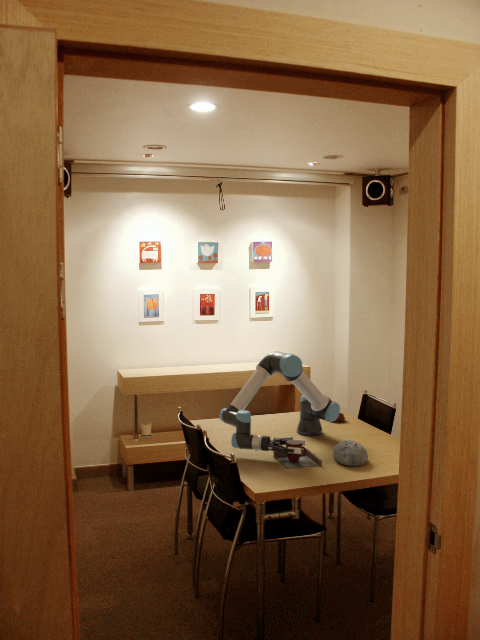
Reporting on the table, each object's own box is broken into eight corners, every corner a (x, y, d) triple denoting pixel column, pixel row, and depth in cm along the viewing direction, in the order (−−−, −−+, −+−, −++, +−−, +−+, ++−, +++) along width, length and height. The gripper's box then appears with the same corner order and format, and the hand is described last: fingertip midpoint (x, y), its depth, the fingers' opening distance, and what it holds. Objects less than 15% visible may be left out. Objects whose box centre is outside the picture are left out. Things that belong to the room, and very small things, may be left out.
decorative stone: (366, 455, 288) (367, 437, 287) (369, 469, 268) (369, 449, 267) (332, 453, 291) (333, 435, 290) (332, 467, 271) (333, 447, 270)
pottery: (327, 423, 351) (328, 416, 350) (324, 415, 371) (324, 408, 370) (346, 423, 350) (346, 416, 350) (342, 415, 370) (342, 409, 370)
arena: (307, 454, 289) (307, 448, 289) (321, 466, 271) (321, 460, 271) (273, 456, 284) (273, 451, 284) (285, 469, 266) (285, 463, 266)
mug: (303, 458, 282) (303, 438, 281) (308, 463, 274) (309, 443, 273) (283, 459, 280) (283, 440, 279) (288, 464, 272) (288, 444, 271)
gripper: (266, 443, 293) (306, 446, 288) (255, 458, 269) (298, 462, 264) (267, 429, 293) (306, 432, 287) (256, 443, 269) (299, 447, 263)
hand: (303, 446), depth 276 cm, fingers open, 13 cm apart
